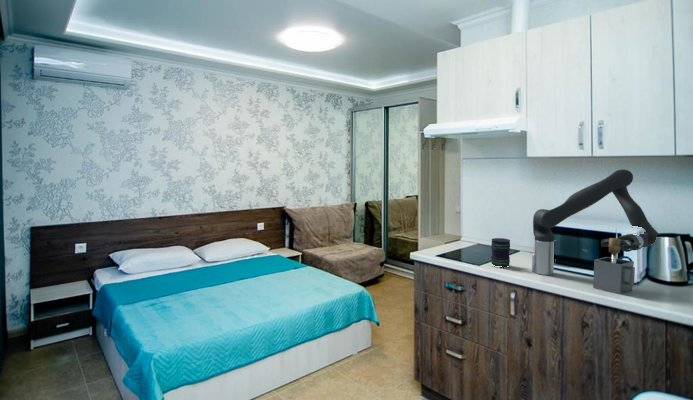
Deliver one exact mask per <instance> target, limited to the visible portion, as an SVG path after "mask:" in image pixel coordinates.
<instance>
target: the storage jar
mask: <svg viewBox="0 0 693 400" xmlns="http://www.w3.org/2000/svg"><path fill="white" fill-rule="evenodd" d="M490 246H491V256H490V264H491V263H492V264H493V265H495V266H502V267H507V266H509V267H510V264H511V263H510V259H511V258H510V250H511V239H509V238H504V237H503V238H500V237H499V238H498V237H495V238H491V245H490Z"/></svg>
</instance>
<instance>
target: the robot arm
mask: <svg viewBox="0 0 693 400" xmlns="http://www.w3.org/2000/svg"><path fill="white" fill-rule="evenodd" d="M633 181H634V175H633V173H632V172H631V171H630V170H628V169H623V168H622V169H617V170H615V171H614V172H612V173H611V174H610V175H608V176H606V177H605V178H604V179H602V180H599V181H597V182H595V183H593V184H590V185H588V186H586V187H584V188H582V189H580V190H579V191H576V192H574V193H573V194H571V195H570V196H568V198H567V199H566V200H565V201H564V202H563V203H561V204H560V205H558V206H556V207H554V208H552V209H544V208H541V209H538V210H536V211H535V212H534V214H533V218H532V225H533V226H532V229H533V230H532V231H533V236H534V246H533V247H534V249H533V251H534V253H532V260H531V261H532V262H531V266H532V267H531V268H532V269H531V272H532V273H534V272H535V274H537V275H543V276H549V275H550V276H552V275H554V271H555V269H554V268H555V264H554V241H556V240H555V239H556V237H555V235H554V233H553V232H552V228H554V227H555V226H557V225H559V224H560V223H561V222H564V221H565V220H567V219H568V218H570V217H572V216H574V215H576V214H578V213H579V212H581V211H583V210H585V209H587V208H590V207H591V206H593V205H595V204H596V203H598V202H599V201H601V200H602V199H604V198H605V197H607V196H608V195H609V194H611V193H612V194H613V195H614V197H615V198H616V200H617V202H618V203H619V204H620V206H621V208H622V209H623V211H624V213H625V215H626V218H627V219H628V221H629V223H630V226H631V225H632V226H638V227H642V228H641V229H643V230H644V231H643V232H644V234H640V235H639V236H637V235H633V234H634V233H628V234H625V235H624V234H623V235H620V236H619V237H617V238H618V239H620V251H623V252H631V251H638V250H641V249H643V248H642V247H644V248H646V247H647V248H648V247H650V246H652V245H651V244H653V243H654V242H655V240H656V237H657V235H660V234H659V232H658V231H657V229H655V228H654V227H653V226H652V224H651V223H650V222H649V220H648V219H647V216H646V214H645V212H644V211H643V209H642V208H641V206H640V205H639V204H638V203H637V202H636V201H635V200H634V199H633V198H632V196H631V195H630V192H629V190H628V188H627V187H628V186H630V185H631V184H632V183H633ZM632 226H631V227H632ZM600 247H602V248H605V247H606V248H607V247H609V238H605V239H601V241H600Z"/></svg>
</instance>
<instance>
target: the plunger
mask: <svg viewBox="0 0 693 400" xmlns="http://www.w3.org/2000/svg"><path fill="white" fill-rule="evenodd" d="M618 238H619V237H609V238H608V239H609V246H608V253H611V258H612V259H611V263H616V259H617V256H618V255H617V254H620V253H621V252H620V251H621V249H620V239H618Z"/></svg>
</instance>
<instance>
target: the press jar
mask: <svg viewBox="0 0 693 400" xmlns="http://www.w3.org/2000/svg"><path fill="white" fill-rule="evenodd" d="M611 259H612V257H611V256H610V257H609V256H605V257H602V258H597V259H594V260H593V261H594V262H593V264H594V265H593V281H592V282H593V285H592V288H593V289H596V290H600V291H604V292H609V293H613V294H616V295H623V294H626V293H628V292H631V291H633V287H634V286H635V278H636V277H635V274H636V273H635V271H636V267H634V266H635V265H634V263H635V262H634V261H632V260H626V259H621V258H616V263H611Z"/></svg>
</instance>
